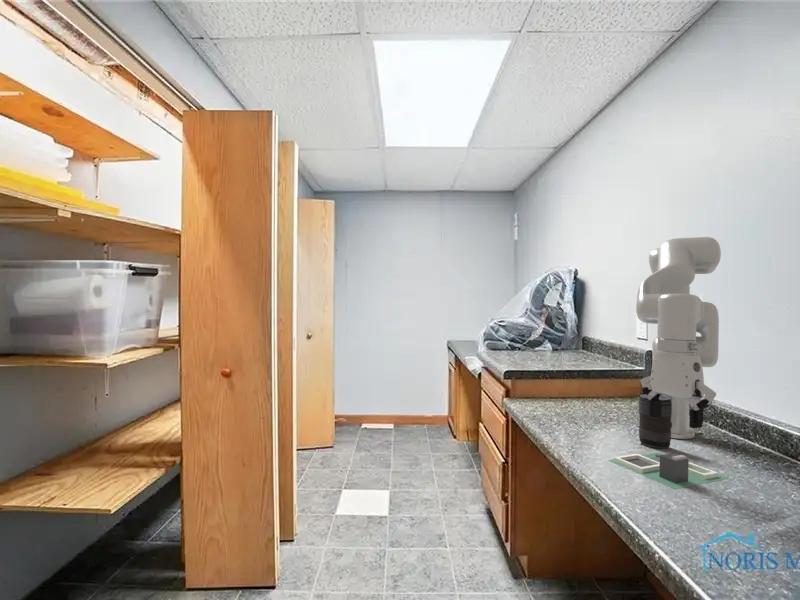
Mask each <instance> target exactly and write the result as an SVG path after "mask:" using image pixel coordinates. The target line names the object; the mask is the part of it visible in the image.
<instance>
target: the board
mask: <svg viewBox="0 0 800 600" xmlns="http://www.w3.org/2000/svg"><path fill="white" fill-rule="evenodd" d="M660 455H665V454H663V453H660V452H653V453H648V454H647V453H646V454H640V453H639V454H638V453H633V454H626V455H621V456H614V457H613V459H608V460H607V461H609V462H610V463H613V464H615V465H618V466H620V467H622V468H623V469H624V468H625V469H626V470H629V471H631V472H634V473H635V474H638V475H641V476H643V477H645V478H647V479H650V480H653V481H655V482H657V483H659V484H661V485H663V486H666V487H669V488H671V489H672V490H678V489H679V490H680V489H683V488H690V487H693V486H698V485H703V484H709V483H714V482H718V481H723V480H729V479H730V478H729V477H727V476H725V475H721V474H719V472H717V471H714V470H711V469H709V468H706V467H703V466H701V465H698V464H695V463H692V462H689V461H688V481H687V482H682V483H673V482H671V481H668V480H666V479H664V478H661V477H659V472H660Z"/></svg>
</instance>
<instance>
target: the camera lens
mask: <svg viewBox="0 0 800 600" xmlns="http://www.w3.org/2000/svg"><path fill="white" fill-rule="evenodd" d="M659 399H660V400H661V401H662V408H661V416H660V417H650V411H649V405H650V400H649V399H647V395H646V394H640V395H639V400H638V414H639V425H638V426H639V427H638V431H639V432H638V437H639V442H640V445H641V446H644V447H647V448H652V449H657V450H665V449H666V450H667V449H669V448H670V446H671V442H672V440H671V439H672V438H671V428H672V422H671V414H672V403H671V398H669V397H666V396H661V397H660V398H659Z"/></svg>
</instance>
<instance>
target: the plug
mask: <svg viewBox="0 0 800 600" xmlns="http://www.w3.org/2000/svg"><path fill="white" fill-rule="evenodd" d="M688 462H689V459H688V458H687V455H686V456H685V455H684V454H680V455H679V454H674V453H666V454H664V455H660V472H659V477H661V478H664V479H666V480H668V481H671V482H673V483H682V482H687V481H688Z"/></svg>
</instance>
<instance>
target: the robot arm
mask: <svg viewBox="0 0 800 600" xmlns="http://www.w3.org/2000/svg"><path fill="white" fill-rule="evenodd" d="M721 256H722V251H721V246H720V244H719V242H718V240H717V239H715V238H713V237H710V236H701V237H700V236H699V237H697V236H695V237H680V238H679V237H677V238H671V239H668V240H665V241H664V242H662V244H661V245H660V247H657V248H655V249H653V250H651V251H650V252H649V256H648V263H649V267H650V270H651V274H650V275H648V276H647V277H646V278H644V279H643V281H641V282H640V285H639V286H638V288H637V289H638V290H637V295H636V304H635V305H636V307H635V309H636V311H635V312H636V316H637V318H638V320H639V321H640V322H642V323H645V324H653V325H656V324H657V336H656V337H655V338H654V339H653V341H652V344H651V345H652V355H653V359H652V363H651V371H650V372H651V373H650V375H648V376H645V377H642V378H640V381H639V382H640V384H641V386H642V388H643V389H642V390H643V392H644V393H645V394H646V395H647V399H649V400H650V405H649V411H650V417H660V416H661V408H662V401H661V400H660V399H659V398H660V397H661V396H666V397H669V398H671V403H672V414H671V422H672V428H671V439H678V440H679V439H680V440H689V439H693V438H695V437H696V436H695V432H694V431H693V430H691V429H699V428H700V429H701V428H703V424H704V411H705V410H706V409H707V408H708V407H709V406H711V405H712V403H713V401H714V400H715V398H716V396H717V393H716V392H715V390H713V389H712V388H710V387H709V386H707V385H706V384H705V379H704V370H703V368H713V367H714V366H716V365H717V362H718V358H719V340H720V339H719V334H720V332H719V331H720V328H719V327H720V326H719V323H720V320H719V319H720V318H719V311H718V308H717V306H716V305H715V304H713V303H712V302H709V301H703V300H702V299H701V298H700V297H699V296H697V295H696V294H690V292H691V291H690V290H691V287H690V285H691V284H692V283H693V282H694V281H695V277H696V276H695V275H707V274H708V275H709V274H712V273H713V272H714V271H715V270H716V269H717V267H718V266H719V264H720V261H721V258H722V257H721ZM697 333H699V334H700V335H699V336H698V335H697ZM690 407H691V408H692V409H690Z"/></svg>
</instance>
